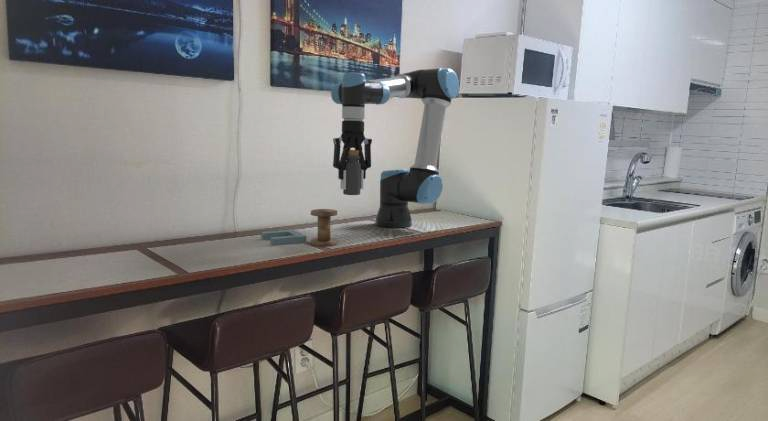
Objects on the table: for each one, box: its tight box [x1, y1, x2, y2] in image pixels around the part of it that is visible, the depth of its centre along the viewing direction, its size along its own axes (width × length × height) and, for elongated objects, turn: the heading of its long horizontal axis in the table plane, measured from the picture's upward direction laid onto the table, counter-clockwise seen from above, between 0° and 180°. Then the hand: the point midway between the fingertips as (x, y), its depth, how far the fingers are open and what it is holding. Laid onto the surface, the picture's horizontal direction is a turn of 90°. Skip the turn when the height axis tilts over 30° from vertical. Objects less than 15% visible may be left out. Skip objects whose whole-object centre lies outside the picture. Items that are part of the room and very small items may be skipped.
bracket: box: [260, 229, 308, 247], centre depth 191 cm, size 12×13×2 cm
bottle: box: [342, 149, 361, 196], centre depth 185 cm, size 6×6×15 cm
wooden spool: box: [310, 208, 338, 247], centre depth 187 cm, size 9×9×11 cm
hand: (351, 188), depth 186 cm, fingers closed on bottle, 6 cm apart
